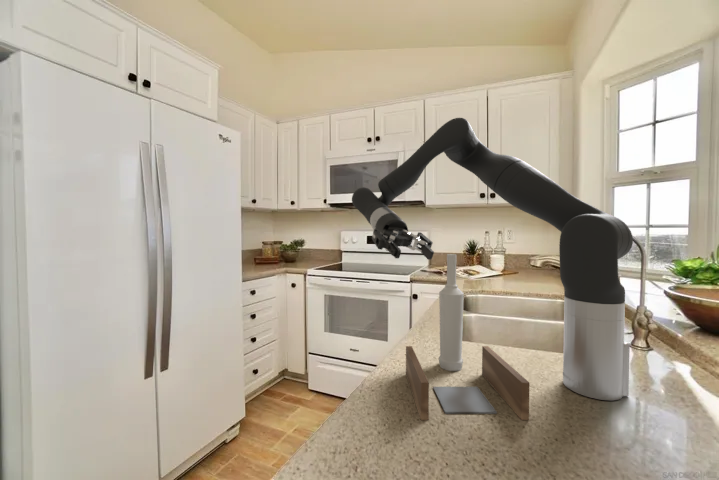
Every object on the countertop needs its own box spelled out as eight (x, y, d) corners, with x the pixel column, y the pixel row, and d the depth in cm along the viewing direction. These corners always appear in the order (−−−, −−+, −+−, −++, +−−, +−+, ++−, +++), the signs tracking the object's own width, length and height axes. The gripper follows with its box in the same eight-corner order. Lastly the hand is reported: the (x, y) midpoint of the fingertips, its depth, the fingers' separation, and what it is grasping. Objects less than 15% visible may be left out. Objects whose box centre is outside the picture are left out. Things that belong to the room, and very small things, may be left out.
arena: (487, 374, 66) (488, 346, 66) (528, 419, 50) (529, 382, 50) (405, 374, 66) (406, 346, 66) (421, 420, 50) (421, 382, 50)
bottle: (464, 372, 67) (465, 255, 66) (439, 370, 68) (440, 254, 68) (461, 362, 72) (462, 253, 72) (438, 360, 73) (439, 253, 73)
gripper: (366, 210, 80) (391, 239, 67) (414, 214, 86) (447, 242, 72) (360, 236, 83) (383, 269, 70) (407, 239, 89) (436, 270, 75)
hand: (415, 255), depth 71 cm, fingers open, 8 cm apart
